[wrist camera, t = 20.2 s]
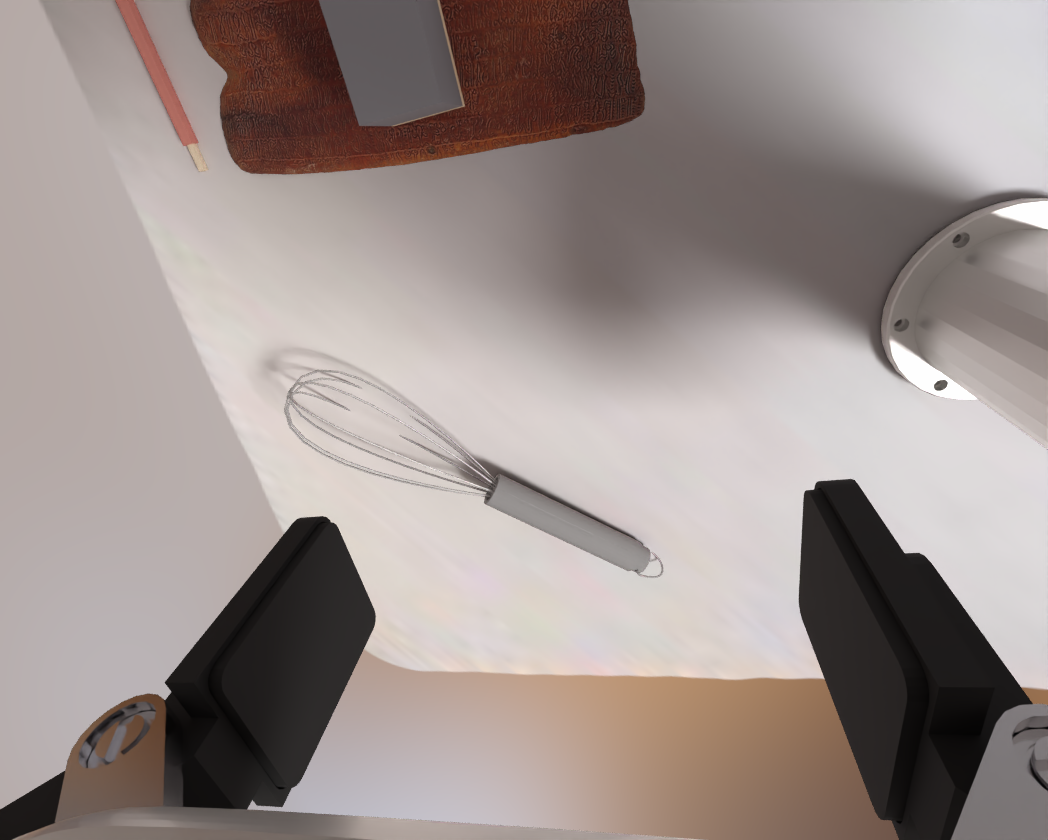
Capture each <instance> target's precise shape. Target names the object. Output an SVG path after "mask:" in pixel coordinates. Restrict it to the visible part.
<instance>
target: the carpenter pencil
mask: <svg viewBox="0 0 1048 840" xmlns="http://www.w3.org/2000/svg"><path fill="white" fill-rule="evenodd" d="M115 1H116V3H117V5H118V7H119V9H120V11H121V13H122V16H123V18H124V20H125V22H126V24H127V26H128V28H129V31H130V33H131V35H132V37H133V39H134V41H135V43H136V46H137V48H138V50H139V52H140V54H141V56H142V58H143V60H144V63H145V65H146V67H147V69H148V71H149V73H150V75H151V78H152V80H153V82H154V84H155V86H156V88H157V90H158V93H159V95H160V97H161V99H162V101H163V103H164V105H165V108H166V110H167V112H168V114H169V116H170V118H171V120H172V122H173V125H174V127H175V129H176V131H177V133H178V135H179V137H180V140H181V142H182V144H183V146H188V149H189V151H190V153H191V155H192V157H193V159H194V161H195V164H196V166H197V168H198V170H199V172H203V171H206V170H208V168H207V166H206V164H205V162H204V159H203V157H202V155H201V153H200V151H199V149H198V146H197V144H196V143H198V141H197V138H196V136H195V134H194V132H193V130H192V127H191V125H190V123H189V121H188V119H187V116H186V114H185V112H184V110H183V108H182V105H181V103H180V101H179V99H178V97H177V94H176V92H175V90H174V88H173V86H172V83H171V81H170V79H169V77H168V75H167V72H166V70H165V68H164V66H163V64H162V62H161V59H160V57H159V55H158V53H157V51H156V48H155V46H154V44H153V42H152V40H151V37H150V35H149V33H148V31H147V29H146V26H145V24H144V22H143V20H142V18H141V15H140V13H139V11H138V9H137V7H136V4H135V2H134V0H115Z"/></svg>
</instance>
